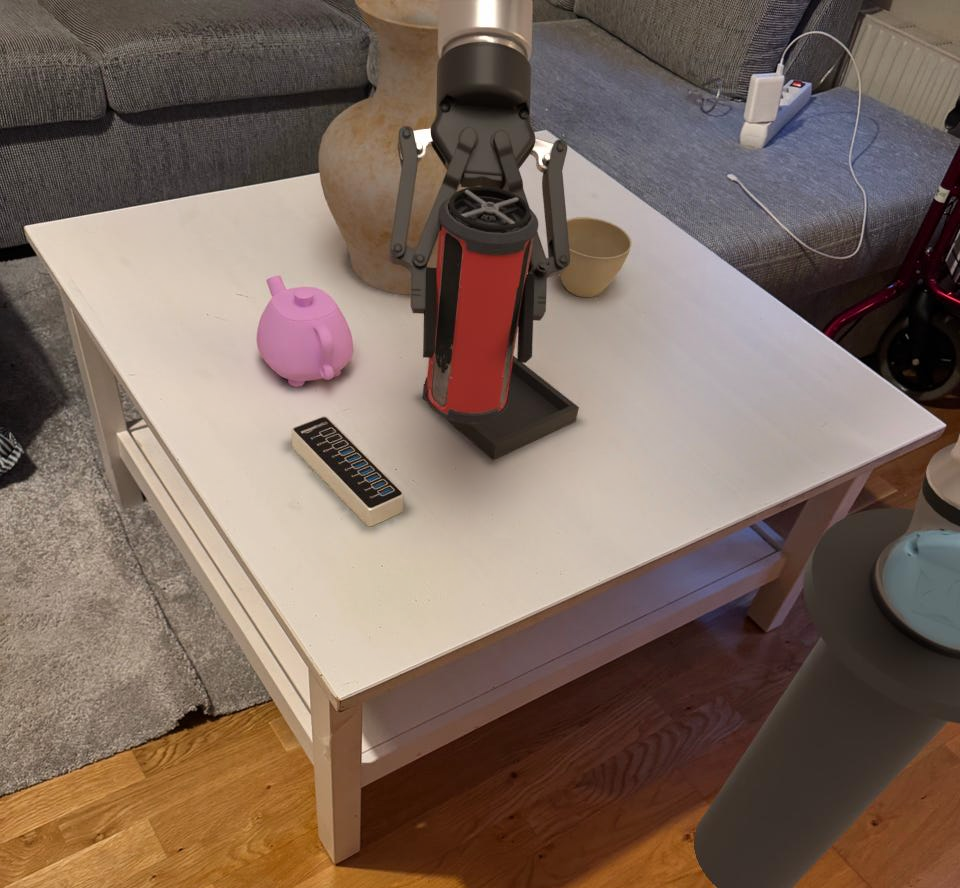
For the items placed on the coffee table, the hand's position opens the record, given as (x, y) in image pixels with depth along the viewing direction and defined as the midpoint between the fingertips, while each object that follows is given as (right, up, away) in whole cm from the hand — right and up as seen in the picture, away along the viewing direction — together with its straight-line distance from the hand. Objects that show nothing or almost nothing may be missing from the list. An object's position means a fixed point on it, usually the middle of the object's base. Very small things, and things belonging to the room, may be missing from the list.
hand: (477, 356), depth 75 cm
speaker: (-1, -2, +8) cm, 8 cm away
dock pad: (+2, +3, +29) cm, 29 cm away
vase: (-10, +26, +46) cm, 54 cm away
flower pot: (+14, +24, +48) cm, 55 cm away
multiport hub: (-14, -7, +19) cm, 25 cm away
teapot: (-20, +9, +31) cm, 38 cm away
